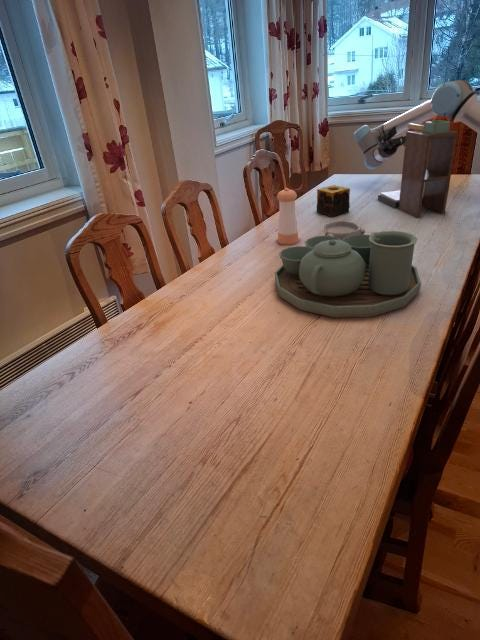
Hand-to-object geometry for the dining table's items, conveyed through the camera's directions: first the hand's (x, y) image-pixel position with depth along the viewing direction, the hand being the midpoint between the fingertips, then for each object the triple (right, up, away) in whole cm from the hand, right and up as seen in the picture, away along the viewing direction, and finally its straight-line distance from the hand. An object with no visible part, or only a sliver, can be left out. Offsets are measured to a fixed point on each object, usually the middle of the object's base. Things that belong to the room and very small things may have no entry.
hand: (411, 128), depth 172 cm
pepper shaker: (-51, -48, -14) cm, 71 cm away
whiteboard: (+2, -25, +17) cm, 30 cm away
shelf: (+5, -32, +3) cm, 33 cm away
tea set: (-39, -67, -48) cm, 91 cm away
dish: (-32, -48, -17) cm, 60 cm away
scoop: (+2, -4, -8) cm, 9 cm away
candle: (-29, -31, +12) cm, 44 cm away
